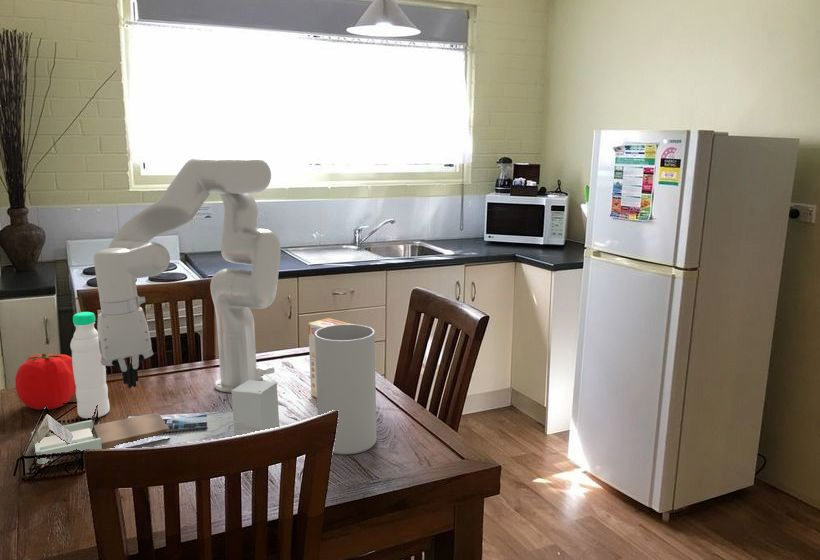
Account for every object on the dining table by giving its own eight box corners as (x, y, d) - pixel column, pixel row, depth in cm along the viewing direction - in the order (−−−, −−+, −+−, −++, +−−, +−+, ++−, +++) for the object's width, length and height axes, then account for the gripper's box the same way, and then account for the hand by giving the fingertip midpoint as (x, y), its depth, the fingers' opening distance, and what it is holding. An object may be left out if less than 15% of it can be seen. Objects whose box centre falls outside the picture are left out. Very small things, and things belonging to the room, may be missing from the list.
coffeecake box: (370, 402, 174) (368, 327, 170) (349, 411, 169) (347, 333, 165) (331, 388, 184) (328, 316, 180) (309, 395, 179) (307, 322, 175)
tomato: (37, 421, 164) (30, 366, 162) (5, 409, 172) (-2, 356, 169) (97, 400, 177) (91, 348, 175) (65, 390, 185) (59, 340, 182)
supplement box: (281, 435, 156) (278, 382, 153) (263, 449, 149) (260, 393, 146) (252, 431, 158) (249, 378, 155) (233, 445, 151) (230, 389, 148)
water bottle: (98, 420, 165) (87, 318, 159) (71, 418, 166) (59, 316, 161) (116, 409, 171) (106, 310, 166) (90, 407, 173) (80, 309, 168)
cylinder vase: (341, 426, 160) (338, 321, 155) (387, 438, 154) (385, 329, 149) (307, 447, 149) (302, 335, 144) (355, 461, 143) (352, 344, 138)
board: (158, 421, 164) (157, 412, 163) (170, 438, 155) (169, 428, 154) (93, 435, 156) (92, 425, 156) (102, 454, 147) (101, 443, 147)
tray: (93, 434, 157) (92, 419, 156) (102, 454, 147) (100, 438, 146) (33, 447, 151) (31, 431, 150) (38, 469, 141) (36, 452, 140)
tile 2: (91, 438, 153) (90, 427, 153) (94, 446, 149) (93, 436, 149) (66, 443, 151) (64, 433, 150) (68, 452, 147) (67, 441, 146)
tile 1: (65, 444, 151) (63, 433, 150) (67, 453, 147) (66, 441, 146) (39, 449, 148) (37, 438, 148) (40, 458, 144) (39, 447, 143)
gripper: (152, 296, 156) (162, 372, 161) (79, 308, 149) (92, 388, 154) (160, 303, 150) (170, 383, 155) (84, 316, 143) (97, 399, 147)
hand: (131, 385), depth 154 cm, fingers closed
